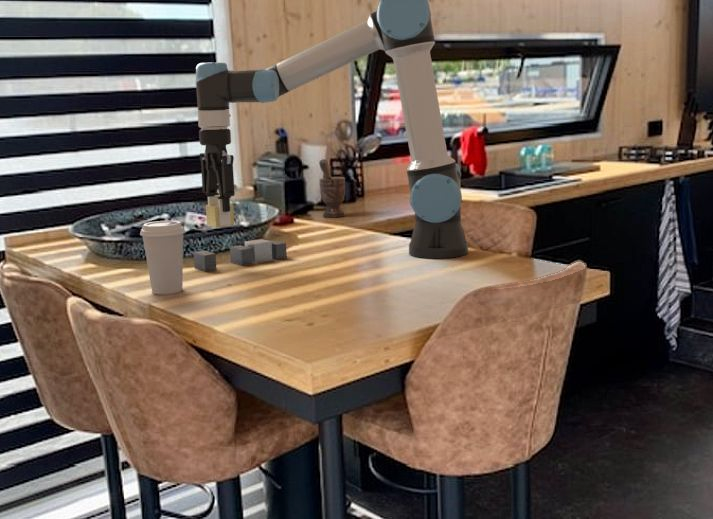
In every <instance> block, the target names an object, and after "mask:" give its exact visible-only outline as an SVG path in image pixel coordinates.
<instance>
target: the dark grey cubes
mask: <svg viewBox="0 0 713 519" xmlns="http://www.w3.org/2000/svg"><path fill="white" fill-rule="evenodd" d="M270 241H271V244H272V260H276V261H279V260H284V259H287V252H288V251H287V243H286V242H284V241H280V240H279V241H278V240H276V239H275V240H273V239H272V240H270ZM229 254H230V263H231V264H235V265H237V266H238V265H239V266H249V265H253V261H252V248H249V247H245V245H241V244H239V245H234V246H229ZM216 256H217V254H216V253H214V252H211V251H207V250H198V251H193V263H194V269H197V270H199V271H203V272H211V271H218V270H217V268H218V267H217V257H216Z"/></svg>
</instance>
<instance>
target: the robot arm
mask: <svg viewBox="0 0 713 519" xmlns="http://www.w3.org/2000/svg"><path fill="white" fill-rule="evenodd" d="M377 6H378V7H377V9H376V10H375V11H374V12H372V13H370V14H369V15H368V18H367V19H366V20H365V21H363V22H361V23H358V24H357V25H355V26H352V27H351V28H348V29H346V30H345V31H342V32H340V33H338V34H336V35H334V36H332V37H330V38H328V39H326V40H324V41H322V42H319V43H317V44H316V45H315V44H314V45H313V46H311V47H309V48H307V49H305V50H302V51H301V52H299V53H297V54H294V55H292V56H290V57H288V58H286V59H284V60H281V61H280V62H277V63H276V64H274V65H271V66H269V67H267V68H265V69H263V68H262V69H250V70H249V69H248V70H247V69H246V70H229V68H228V65H227V63H226V62H200V63H198V64H197V65H196V67H195V69H196V70H195V86H196V87H195V89H196V98H197V99H196V100H197V120H198V121H197V122H198V128H200V129H199V131H198V134H199V135H198V136H199V144H200V145H201V146H205V150H204V153H203V152H202V153H199V160H200V166H201V184H202V193H203V194H205V195H206V197H207V205H210V204H218V205H219V222H220V226H223V225H231V215H230V204H231V198H232V197H235V179H234V177H235V176H234V161H235V160H234V159H235V157H234V155H232V154H228V149H227V145H230V144H231V143H232V133H231V129H230V128H228V127H230V126H231V119H230V118H231V114H230V104H231V103H232V104H233V103H234V104H235V103H262V104H263V103H271V102H276V101H277V100H278V99H279V97H282V96H283V95H285V94H287V93H289V92H292V91H293V90H295V89H298V88H299V87H303V86H304V85H306V84H309V83H310V82H312V81H314V80H316V79H319V78H321V77H323V76H326V75H327V74H330V73H332V72H334V71H336V70H339V69H341V68H343V67H344V66H347V65H349V64H351V63H353V62H356V61H357V60H359V59H362V58H364V57H366V56H368V55H370V54H372V53H375V52H377V51H379V50H381V51H384V52H385V54H386V55H387V56H389V57H391V59H392V61H393V65H394V66H393V67H394V71H395V72H394V73H395V76H396V77H395V78H396V81H397V82H396V83H397V88H398V93H399V98H400V105H401V109H402V115H403V121H404V126H405V132H406V139H407V143H408V149H409V154H410V160H411V161H410V163H409V165H408V166H407V168H406V175H407V179H408V186H409V191H410V192H409V193H410V194H409V201H410V202H409V203H410V206H411V209H412V210H413V212H414V222H415V223H414V226H413V230H412V234H411V239H410V242H409V243H408V254H409V255H410V256H412V257H417V258H421V259H422V258H424V259H448V258H450V259H451V258H457V257H463V256H465V255H467V254H469V244H468V241H467V239H466V238H467V237H466V235H465V232H464V228H463V226H462V219H461V215H462V209H461V208H462V206H461V205H462V202H463V200H462V199H463V197H462V191H461V190H462V189H461V177H462V172H461V166H460V164H458V163H456V160H455V159H454V158H453V157H451V156H449V154H448V149H447V144H446V138H445V132H444V127H443V120H442V116H441V115H442V114H441V110H440V104H439V97H438V92H437V86H436V80H435V74H434V69H433V64H432V63H433V62H432V57H431V50H432V48H433V46H435V44H436V41H435V35H434V29H433V24H432V23H433V22H432V13H431V8H430V4H429V0H379V3H378V5H377ZM231 226H232V225H231ZM223 227H224V226H223Z"/></svg>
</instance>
